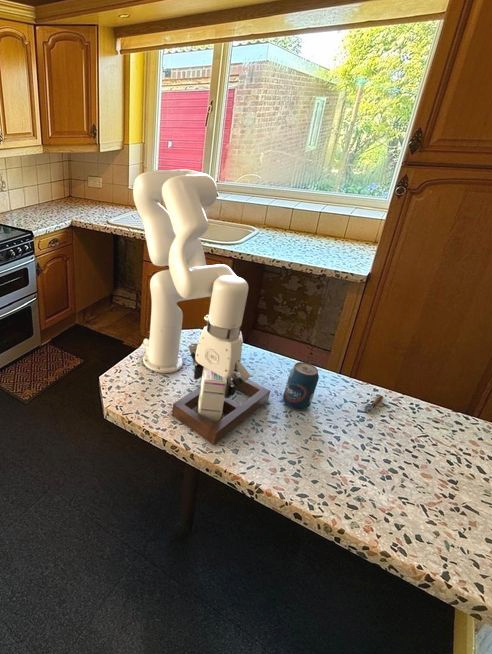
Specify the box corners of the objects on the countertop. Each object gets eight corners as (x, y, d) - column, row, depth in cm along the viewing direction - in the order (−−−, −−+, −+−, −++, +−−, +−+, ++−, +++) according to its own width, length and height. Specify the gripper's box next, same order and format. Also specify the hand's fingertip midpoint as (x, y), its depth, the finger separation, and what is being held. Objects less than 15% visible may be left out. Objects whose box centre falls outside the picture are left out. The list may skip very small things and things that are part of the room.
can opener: (378, 397, 113) (379, 394, 113) (387, 402, 111) (388, 399, 111) (361, 409, 109) (362, 406, 108) (370, 414, 107) (371, 411, 107)
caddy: (171, 415, 107) (173, 403, 105) (226, 378, 121) (228, 368, 119) (213, 445, 97) (216, 433, 96) (267, 402, 112) (270, 390, 110)
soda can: (277, 402, 111) (287, 367, 106) (289, 392, 115) (298, 357, 110) (302, 415, 107) (314, 379, 101) (313, 404, 111) (325, 369, 105)
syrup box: (220, 427, 103) (228, 382, 96) (196, 423, 104) (203, 379, 97) (218, 412, 108) (226, 368, 101) (196, 409, 109) (203, 365, 102)
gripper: (184, 318, 97) (177, 375, 105) (247, 349, 85) (234, 411, 93) (203, 309, 101) (195, 365, 109) (266, 337, 89) (252, 397, 97)
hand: (213, 386), depth 101 cm, fingers open, 8 cm apart
